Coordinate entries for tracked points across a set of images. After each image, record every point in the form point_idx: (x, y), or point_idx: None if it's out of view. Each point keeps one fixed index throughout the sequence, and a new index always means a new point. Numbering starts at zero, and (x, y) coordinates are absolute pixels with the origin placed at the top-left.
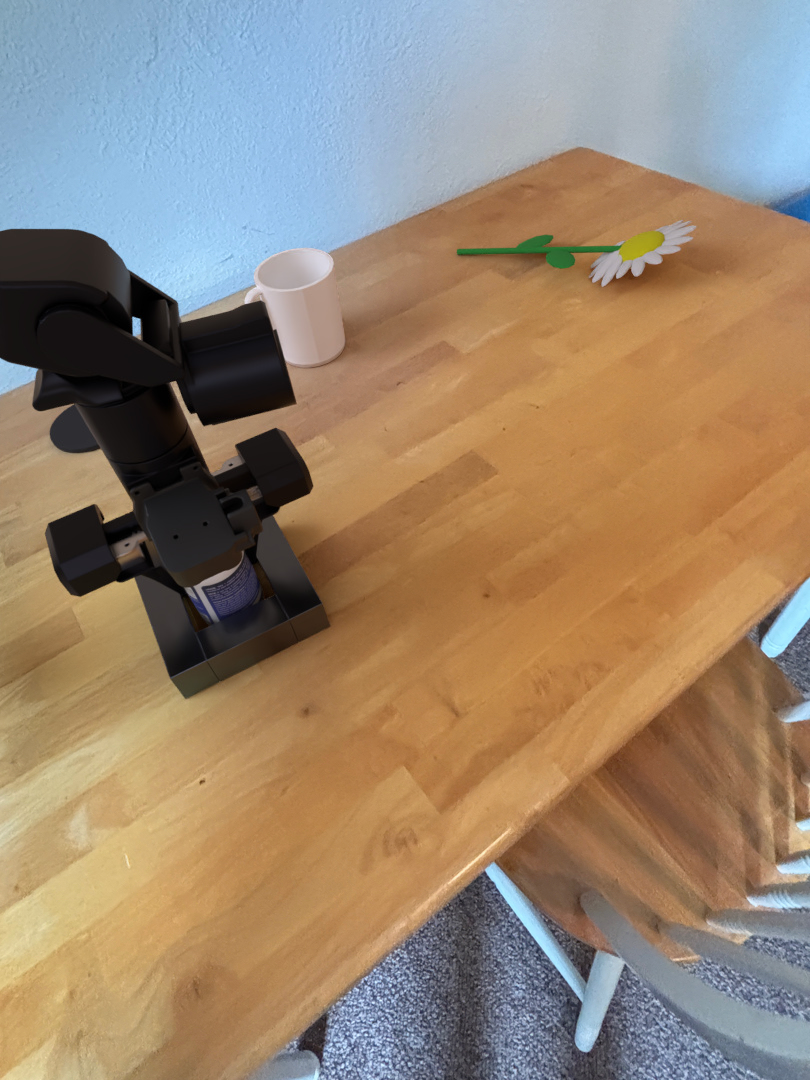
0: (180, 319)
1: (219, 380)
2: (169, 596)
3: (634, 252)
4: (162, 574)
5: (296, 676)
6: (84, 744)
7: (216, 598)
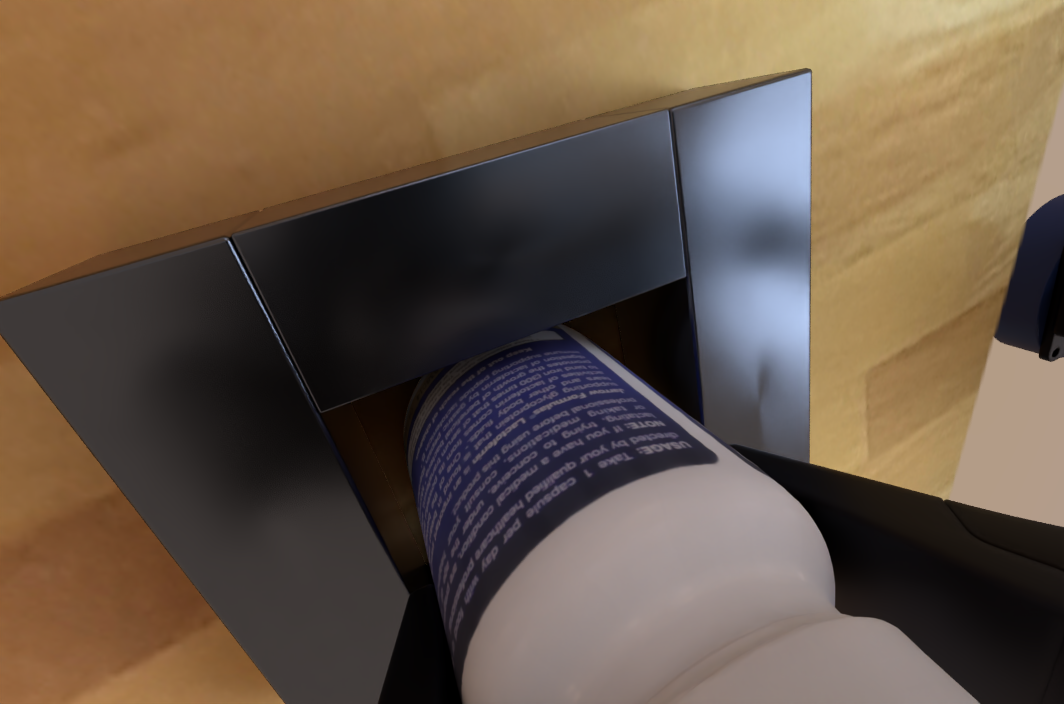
0: None
1: None
2: None
3: None
4: (985, 550)
5: (269, 31)
6: (942, 39)
7: (615, 404)
